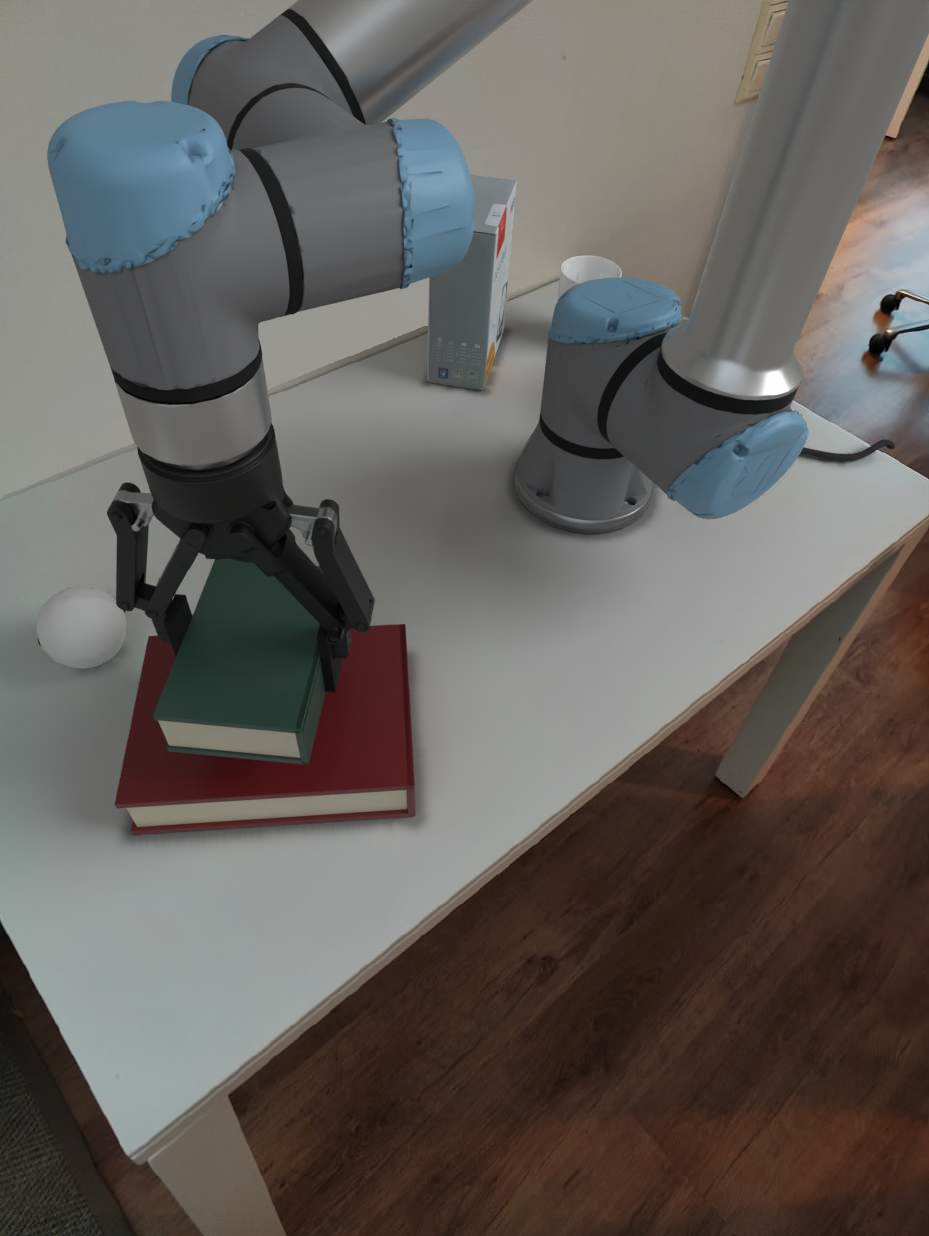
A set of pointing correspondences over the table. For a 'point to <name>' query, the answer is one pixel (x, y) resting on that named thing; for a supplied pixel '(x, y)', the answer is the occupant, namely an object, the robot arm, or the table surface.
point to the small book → (245, 672)
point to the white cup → (585, 271)
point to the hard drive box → (473, 293)
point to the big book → (277, 791)
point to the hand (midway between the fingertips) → (263, 671)
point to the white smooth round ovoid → (81, 627)
